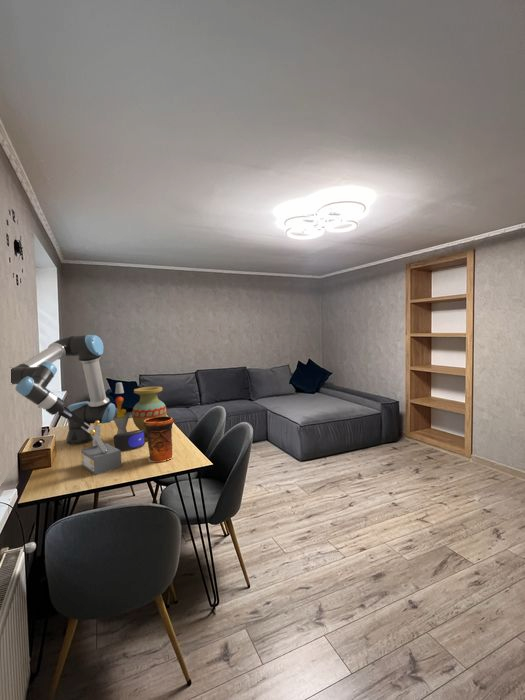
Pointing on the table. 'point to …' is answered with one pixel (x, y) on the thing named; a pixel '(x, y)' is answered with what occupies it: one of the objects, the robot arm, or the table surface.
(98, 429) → the lever
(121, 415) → the lava lamp
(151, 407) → the vase
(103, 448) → the lever
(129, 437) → the dark grey curved slab
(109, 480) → the table surface
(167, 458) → the vessel
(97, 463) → the console
